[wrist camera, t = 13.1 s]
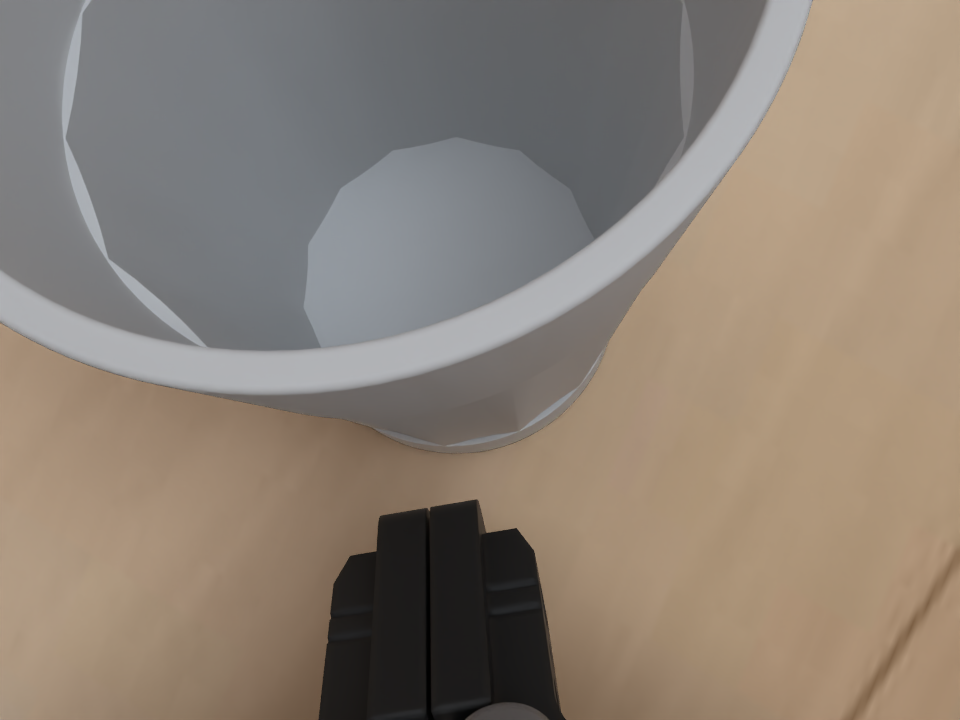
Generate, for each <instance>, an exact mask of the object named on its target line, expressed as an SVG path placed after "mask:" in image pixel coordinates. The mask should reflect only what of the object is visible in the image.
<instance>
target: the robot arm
mask: <svg viewBox="0 0 960 720" xmlns="http://www.w3.org/2000/svg"><path fill="white" fill-rule="evenodd" d="M330 614H331V619H330V622H329V631H328V644H327V649H326V658H325V667H324V676H323V685H322V694H321V703H320V712H319V720H566V719H565V718H564V716H563V715H562V713H561V709H560V702H559V695H558V689H557V682H556V676H555V668H554V662H553V655H552V648H551V641H550V634H549V628H548V621H547V615H546V610H545V605H544V600H543V595H542V589H541V584H540V579H539V574H538V569H537V563H536V558H535V553H534V550H533V549H532V548H531V546H530V545H529V544H528V542H527V541H526V540H525V539H524V537H523V536H522V535H521V533H520V532H519V531H518V529H517V528H515V529H509V530H503V531H497V532H491V533H486V530H485V526H484V521H483V517H482V513H481V508H480V505H479V501H478V500H471V501H465V502H459V503H453V504H447V505H441V506H435V507H431V508H430V511H429V509H428V508H424V509H418V510H412V511H406V512H400V513H394V514H388V515H382V516H380V518H379V522H378V536H377V551H376V552H370V553H364V554H358V555H352V556H350V557H349V559H348V560H347V562H346V564H345V565H344V567H343V569H342V571H341V572H340V574H339V576H338V577H337V579H336V581H335V583H334V586H333V595H332V604H331V613H330Z"/></svg>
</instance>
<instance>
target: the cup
mask: <svg viewBox="0 0 960 720" xmlns="http://www.w3.org/2000/svg"><path fill="white" fill-rule="evenodd" d="M812 1H813V0H0V323H2V324H4V325H5V326H7V327H9V328H10V329H12V330H14V331H15V332H17V333H19V334H21V335H23V336H24V337H26V338H28V339H30V340H32V341H34V342H36V343H38V344H40V345H42V346H44V347H46V348H48V349H50V350H52V351H55V352H57V353H59V354H62V355H64V356H66V357H68V358H71V359H73V360H76V361H79V362H81V363H84V364H86V365H89V366H92V367H95V368H98V369H101V370H104V371H107V372H110V373H113V374H116V375H120V376H123V377H127V378H131V379H135V380H139V381H142V382H147V383H152V384H156V385H161V386H166V387H171V388H175V389H180V390H185V391H190V392H195V393H200V394H205V395H210V396H215V397H220V398H225V399H230V400H235V401H240V402H245V403H250V404H254V405H259V406H264V407H269V408H274V409H279V410H284V411H289V412H294V413H299V414H305V415H311V416H319V417H327V418H338V419H344V420H347V421H351V422H355V423H358V424H362V425H365V426H369V427H371V428H373V429H374V430H376V431H378V432H379V433H381V434H383V435H385V436H387V437H389V438H391V439H393V440H395V441H397V442H400V443H402V444H405V445H408V446H411V447H415V448H418V449H422V450H427V451H433V452H441V453H473V452H481V451H487V450H491V449H496V448H499V447H503V446H506V445H509V444H512V443H514V442H517V441H519V440H522V439H524V438H526V437H528V436H530V435H532V434H534V433H535V432H537V431H539V430H541V429H542V428H544V427H545V426H547V425H548V424H550V423H551V422H552V421H554V420H555V419H556V418H557V417H559V416H560V415H561V414H562V413H563V412H564V411H565V410H566V409H568V408H569V407H570V406H571V405H572V403H573V402H574V401H575V400H576V399H577V398H578V397H579V396H580V394H581V393H582V392H583V390H584V389H585V388H586V386H587V385H588V383H589V382H590V380H591V379H592V377H593V375H594V374H595V372H596V370H597V368H598V366H599V364H600V362H601V360H602V357H603V355H604V352H605V350H606V347H607V344H608V341H609V340H610V338H611V336H612V335H613V333H614V332H615V330H616V329H617V327H618V326H619V324H620V322H621V321H622V319H623V318H624V316H625V315H626V313H627V311H628V310H629V308H630V307H631V305H632V304H633V302H634V301H635V299H636V297H637V296H638V294H639V293H640V291H641V290H642V289H643V287H644V286H645V285H646V284H647V282H648V281H649V280H650V279H651V277H652V276H653V275H654V273H655V272H656V271H657V269H658V268H659V267H660V265H661V264H662V262H663V261H664V260H665V258H666V257H667V255H668V254H669V253H670V251H671V250H672V248H673V247H674V246H675V244H676V243H677V242H678V240H679V239H680V237H681V236H682V235H683V233H684V232H685V230H686V229H687V228H688V226H689V225H690V223H691V222H692V221H693V219H694V218H695V217H696V215H697V214H698V212H699V211H700V210H701V208H702V207H703V205H704V204H705V203H706V201H707V200H708V198H709V197H710V196H711V194H712V193H713V192H714V190H715V189H716V187H717V186H718V185H719V183H720V182H721V180H722V179H723V178H724V176H725V175H726V173H727V172H728V171H729V169H730V168H731V167H732V165H733V164H734V162H735V161H736V160H737V158H738V157H739V155H740V154H741V153H742V151H743V150H744V148H745V147H746V145H747V144H748V142H749V141H750V139H751V138H752V136H753V135H754V133H755V131H756V130H757V128H758V126H759V125H760V123H761V122H762V120H763V118H764V117H765V115H766V113H767V111H768V109H769V108H770V106H771V104H772V102H773V100H774V98H775V96H776V94H777V92H778V90H779V88H780V86H781V84H782V82H783V80H784V78H785V76H786V74H787V72H788V69H789V67H790V65H791V62H792V60H793V57H794V55H795V52H796V50H797V47H798V45H799V42H800V39H801V37H802V34H803V31H804V28H805V24H806V21H807V18H808V15H809V11H810V8H811V5H812Z"/></svg>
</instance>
